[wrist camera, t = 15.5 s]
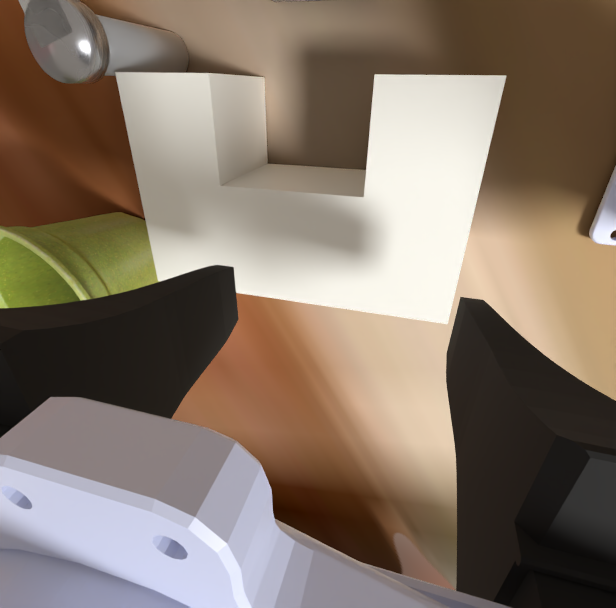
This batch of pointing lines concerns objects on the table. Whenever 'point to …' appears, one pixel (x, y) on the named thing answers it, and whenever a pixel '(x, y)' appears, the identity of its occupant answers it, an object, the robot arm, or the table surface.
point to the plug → (292, 0)
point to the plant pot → (74, 260)
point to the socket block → (304, 183)
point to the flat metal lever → (66, 40)
